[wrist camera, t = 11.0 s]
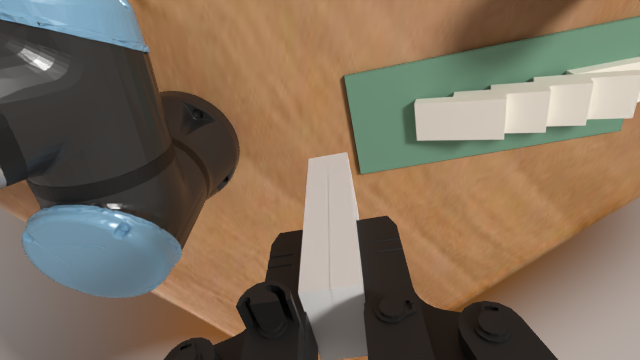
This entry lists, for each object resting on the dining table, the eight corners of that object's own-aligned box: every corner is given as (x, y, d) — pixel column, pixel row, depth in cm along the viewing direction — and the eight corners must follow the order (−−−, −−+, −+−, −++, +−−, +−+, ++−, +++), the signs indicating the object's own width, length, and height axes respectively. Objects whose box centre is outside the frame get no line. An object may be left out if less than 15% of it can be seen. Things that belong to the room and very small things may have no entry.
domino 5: (567, 114, 44) (656, 98, 43) (574, 74, 42) (668, 56, 41) (560, 109, 46) (646, 94, 45) (566, 70, 43) (657, 53, 42)
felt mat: (360, 172, 52) (360, 174, 51) (344, 75, 45) (344, 76, 44) (617, 128, 48) (620, 130, 47) (644, 14, 41) (648, 15, 40)
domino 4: (530, 121, 45) (632, 118, 41) (534, 81, 42) (643, 74, 38) (529, 115, 46) (628, 112, 42) (533, 77, 44) (639, 69, 40)
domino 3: (489, 127, 46) (585, 125, 42) (490, 89, 43) (593, 83, 39) (489, 122, 47) (583, 119, 43) (490, 84, 44) (590, 77, 40)
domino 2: (453, 134, 46) (545, 132, 42) (453, 96, 44) (550, 91, 39) (454, 128, 47) (544, 126, 43) (454, 91, 45) (549, 85, 41)
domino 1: (416, 140, 47) (504, 139, 43) (414, 103, 44) (506, 99, 40) (418, 134, 48) (503, 133, 44) (416, 98, 45) (506, 93, 41)
